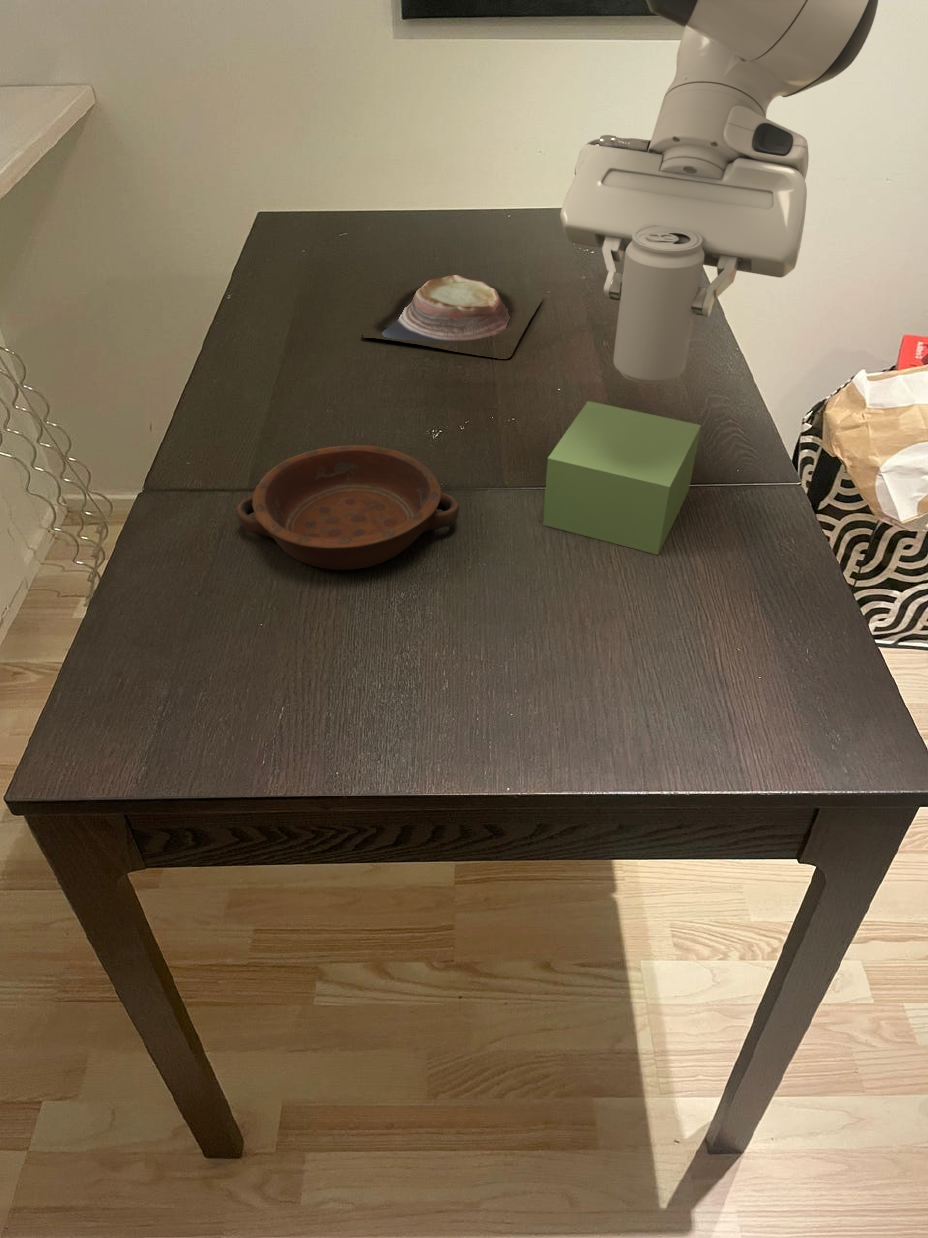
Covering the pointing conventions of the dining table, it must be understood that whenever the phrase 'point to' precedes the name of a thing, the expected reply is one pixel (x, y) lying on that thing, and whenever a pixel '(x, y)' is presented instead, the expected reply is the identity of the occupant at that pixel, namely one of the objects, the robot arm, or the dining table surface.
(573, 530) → the green block
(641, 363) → the beverage can
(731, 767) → the dining table surface
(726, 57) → the robot arm
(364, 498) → the dish
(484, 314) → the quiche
